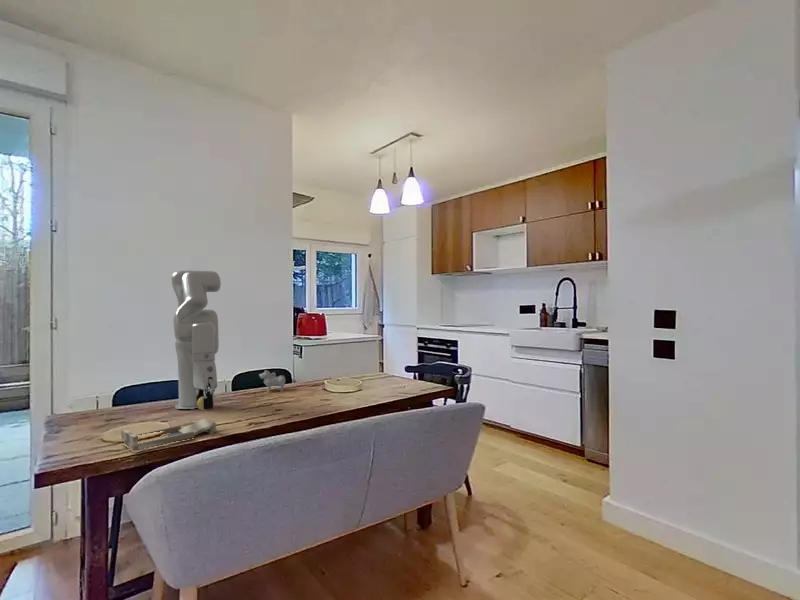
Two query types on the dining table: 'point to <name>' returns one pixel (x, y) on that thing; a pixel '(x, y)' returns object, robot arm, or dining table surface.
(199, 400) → the ball
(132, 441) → the grey tray
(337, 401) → the dining table surface
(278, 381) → the grey dog figurine
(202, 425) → the ramp
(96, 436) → the dining table surface
